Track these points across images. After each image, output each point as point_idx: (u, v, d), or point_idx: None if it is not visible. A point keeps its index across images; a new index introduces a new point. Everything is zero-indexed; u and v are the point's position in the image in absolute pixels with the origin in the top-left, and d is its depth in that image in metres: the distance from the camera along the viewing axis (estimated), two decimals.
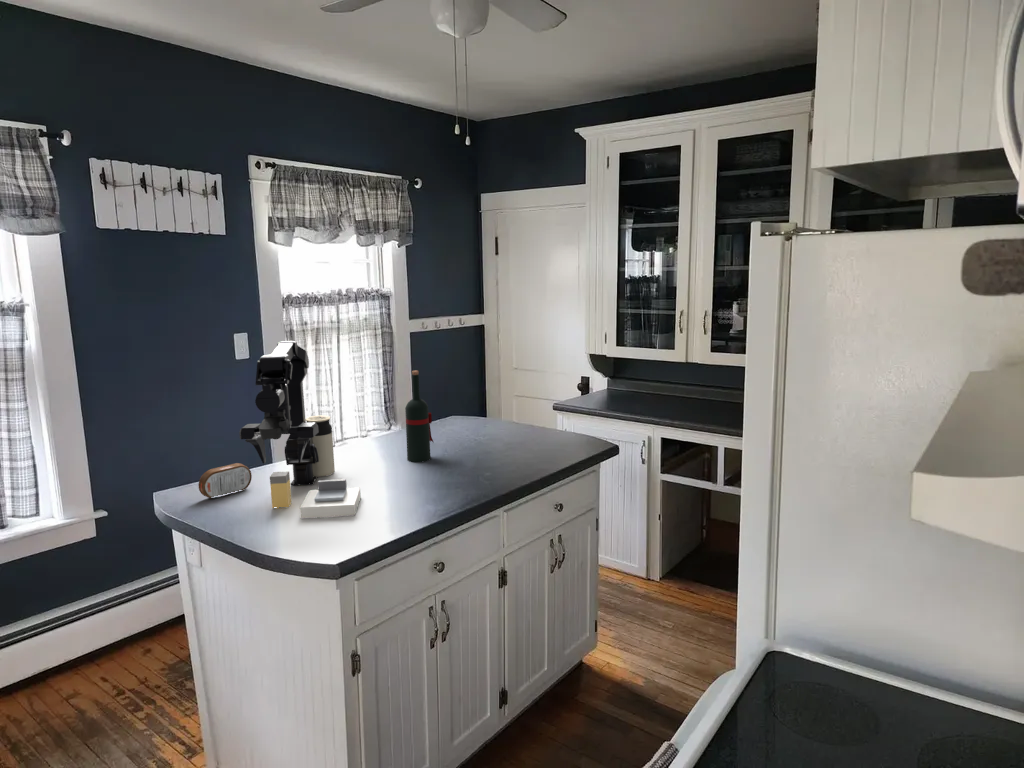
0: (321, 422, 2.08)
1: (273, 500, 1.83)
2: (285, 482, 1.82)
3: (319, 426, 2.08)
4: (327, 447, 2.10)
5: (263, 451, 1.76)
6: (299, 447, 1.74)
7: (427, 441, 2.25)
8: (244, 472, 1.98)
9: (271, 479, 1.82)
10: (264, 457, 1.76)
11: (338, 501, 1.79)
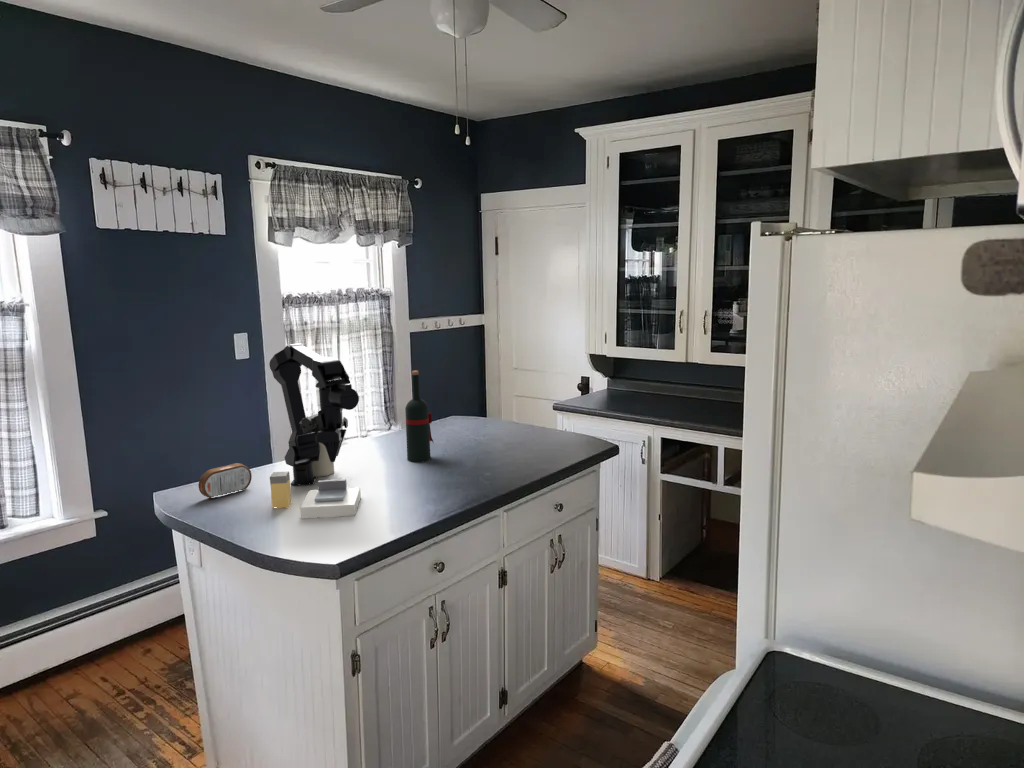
0: None
1: (273, 500, 1.83)
2: (285, 482, 1.82)
3: None
4: None
5: None
6: (326, 447, 1.86)
7: (427, 441, 2.25)
8: (244, 472, 1.98)
9: (271, 479, 1.82)
10: None
11: (338, 501, 1.79)
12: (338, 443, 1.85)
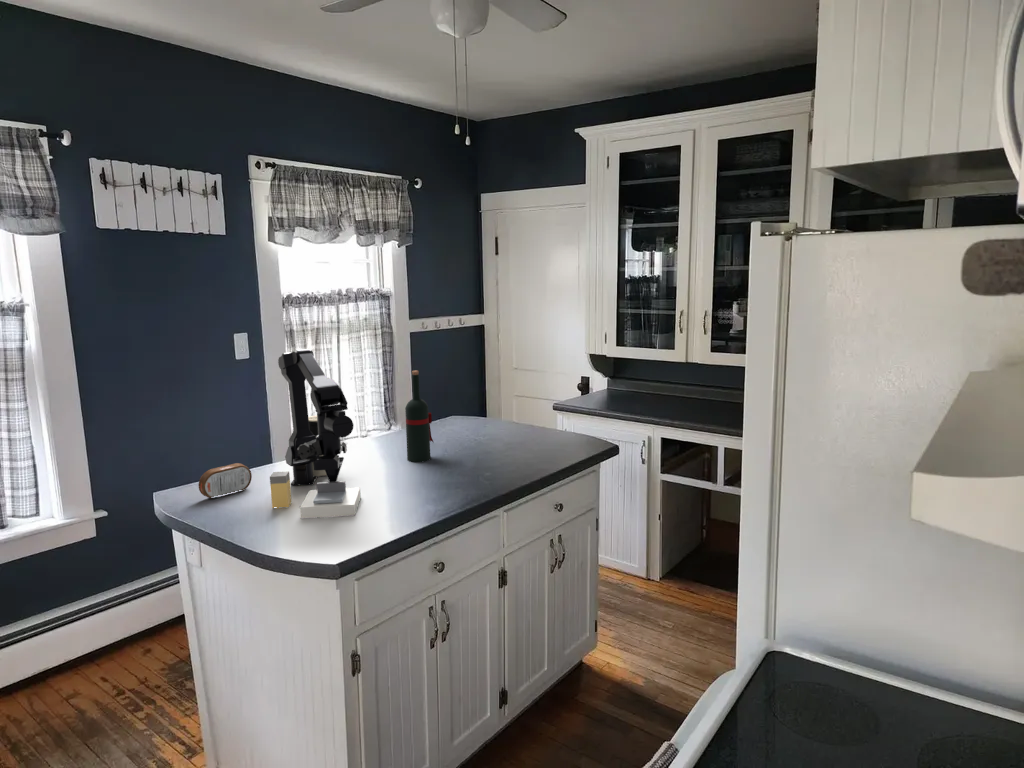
0: None
1: (273, 500, 1.83)
2: (285, 482, 1.82)
3: None
4: None
5: None
6: None
7: (427, 441, 2.25)
8: (245, 472, 1.98)
9: (271, 479, 1.82)
10: None
11: None
12: (338, 467, 1.82)
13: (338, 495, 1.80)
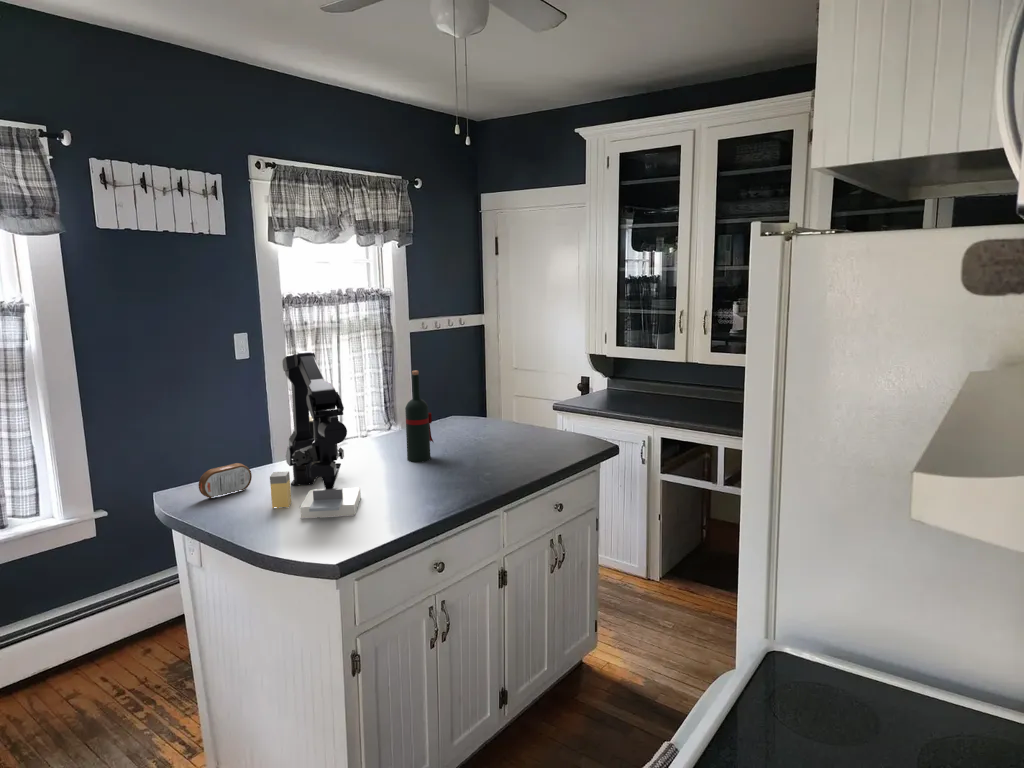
0: None
1: (273, 500, 1.83)
2: (285, 482, 1.82)
3: None
4: None
5: None
6: None
7: (427, 441, 2.25)
8: (244, 472, 1.98)
9: (271, 479, 1.82)
10: None
11: None
12: (335, 474, 1.77)
13: (335, 503, 1.75)
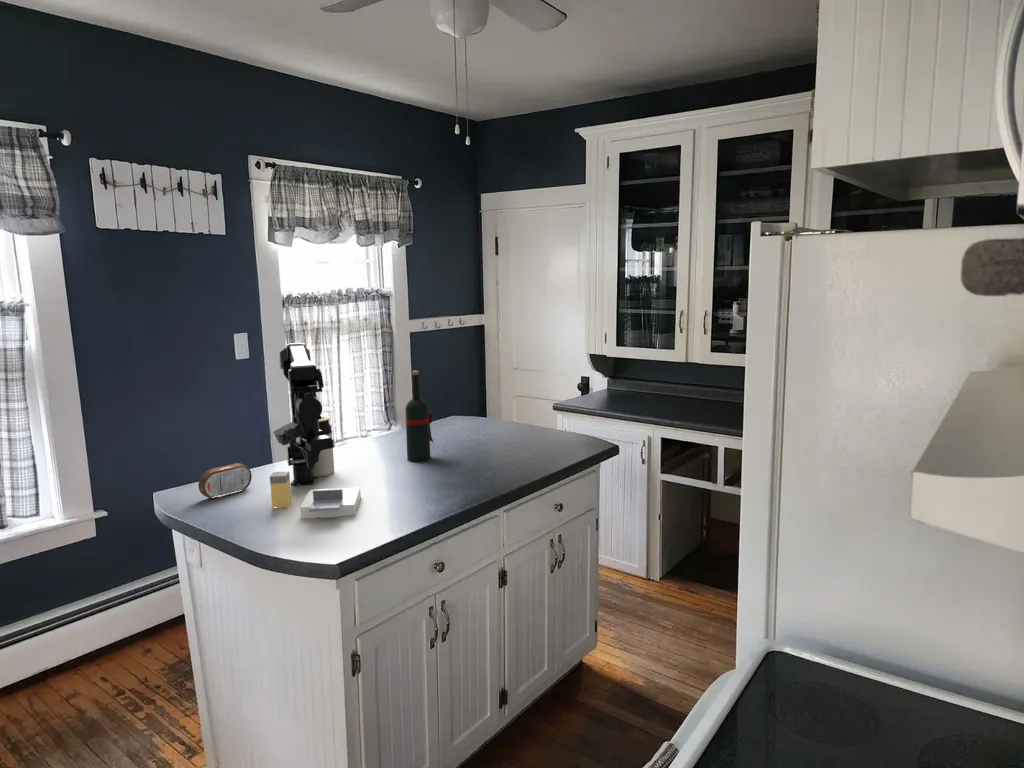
0: (320, 422, 2.08)
1: (273, 500, 1.83)
2: (285, 482, 1.82)
3: None
4: None
5: None
6: (306, 454, 1.78)
7: (427, 441, 2.25)
8: (245, 472, 1.98)
9: (271, 479, 1.82)
10: None
11: None
12: None
13: (335, 503, 1.75)
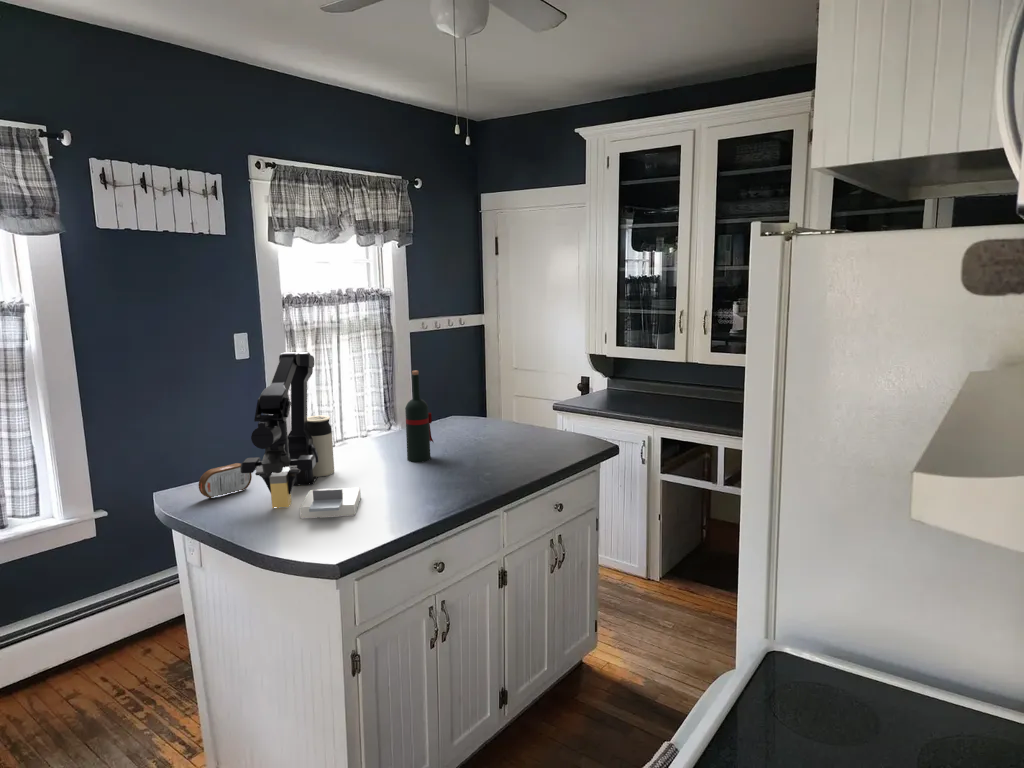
0: (320, 422, 2.08)
1: (273, 500, 1.83)
2: (285, 482, 1.82)
3: (318, 426, 2.08)
4: (327, 447, 2.09)
5: None
6: (289, 479, 1.83)
7: (427, 441, 2.25)
8: None
9: (271, 479, 1.82)
10: None
11: None
12: None
13: (335, 503, 1.75)
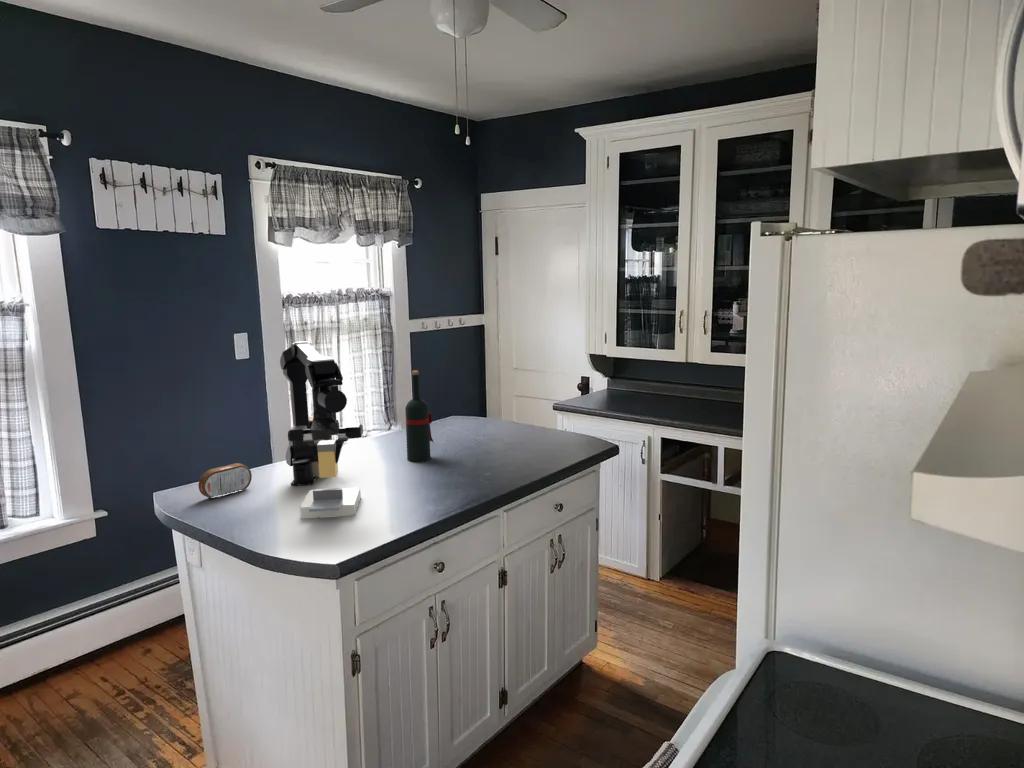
0: None
1: (320, 469, 1.79)
2: (333, 450, 1.78)
3: None
4: None
5: None
6: (337, 448, 1.79)
7: (427, 441, 2.25)
8: (245, 472, 1.98)
9: (319, 447, 1.78)
10: None
11: None
12: None
13: (335, 503, 1.75)
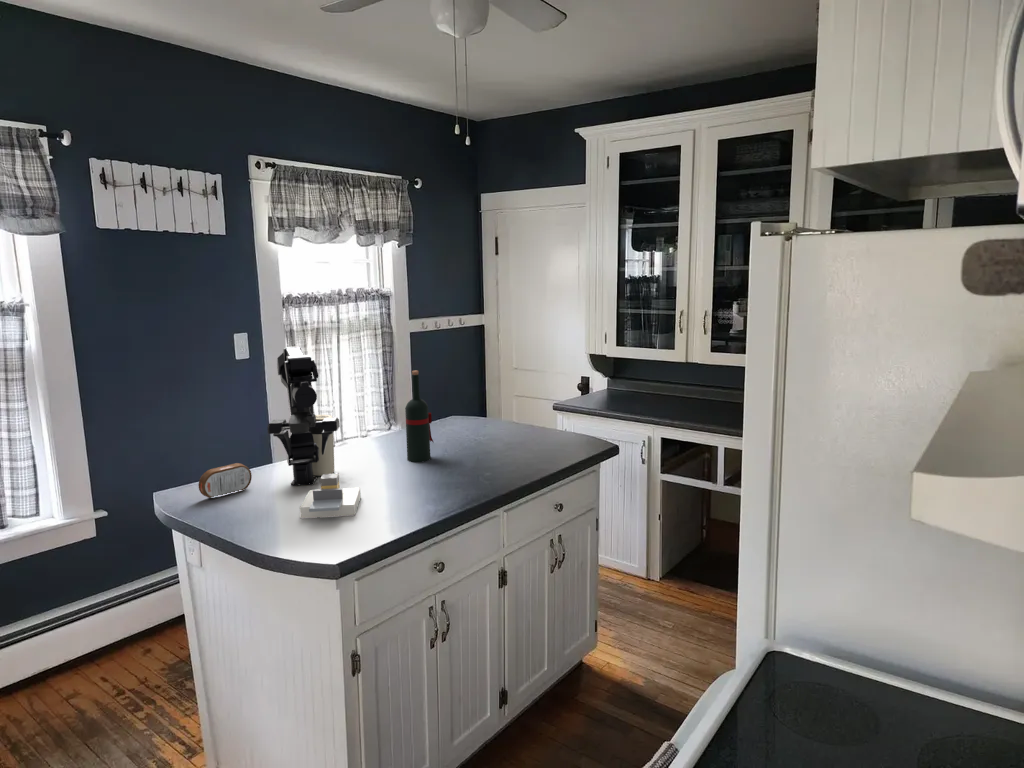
0: None
1: None
2: (336, 484, 1.80)
3: None
4: (328, 446, 2.10)
5: (288, 445, 1.90)
6: (323, 440, 1.89)
7: (427, 441, 2.25)
8: (244, 472, 1.98)
9: (321, 481, 1.79)
10: (289, 450, 1.90)
11: None
12: None
13: (335, 503, 1.75)
